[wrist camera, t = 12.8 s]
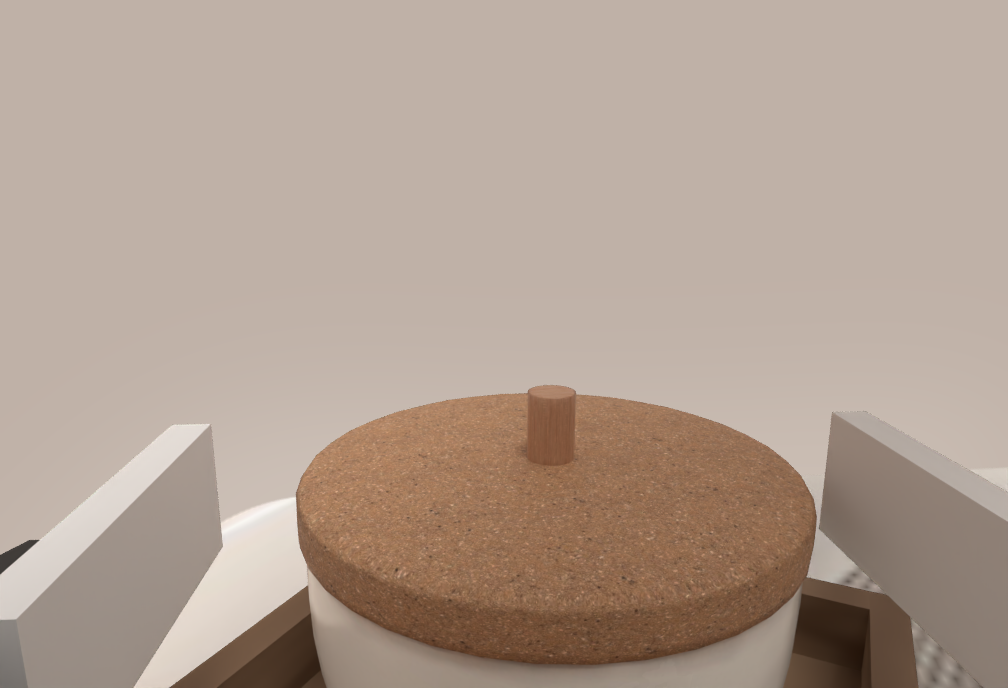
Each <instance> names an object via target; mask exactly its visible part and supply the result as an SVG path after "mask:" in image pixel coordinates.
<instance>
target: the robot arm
mask: <svg viewBox="0 0 1008 688" xmlns="http://www.w3.org/2000/svg"><path fill="white" fill-rule="evenodd" d="M819 529H820V530H821V531H822V532H823V533H824V534H825V535H826V536H827V537H828V538H829V539H830V540H831V541H832V542H833V543H834V544H835V545H836V546H837V547H838V548H840V549H841V550H842V551H843V552H844V553H845V554H846V555H847V556H848V557H849V558H850V559H851V560H852V561H853V562H854V563H855V564H856V565H857V566H858V567H859V568H860V569H861V570H862V571H863V572H864V573H865V574H866V575H867V576H868V577H869V578H871V579H872V580H873V581H874V582H875V583H876V584H877V585H878V586H879V587H880V588H881V589H882V590H883V591H884V592H885V593H886V594H887V595H888V596H889V597H890V598H891V599H892V600H893V601H894V602H895V603H896V604H897V605H898V606H899V607H900V608H901V609H903V610H904V611H905V612H906V613H907V614H908V615H909V616H910V617H911V618H912V619H913V620H914V621H915V622H916V623H917V624H918V625H919V626H920V627H921V628H922V629H923V630H924V631H925V632H926V633H927V634H928V635H929V636H930V637H931V638H932V639H933V640H935V641H936V642H937V643H938V644H939V645H940V646H941V647H942V648H943V649H944V650H945V651H946V652H947V653H948V654H949V655H950V656H951V657H952V658H953V659H954V660H955V661H956V662H957V663H958V664H959V665H960V666H961V667H962V668H963V669H964V670H965V671H967V672H968V673H969V674H970V675H971V676H972V677H973V678H974V679H975V680H976V681H977V682H978V683H979V684H980V685H981V686H982V687H983V688H1008V492H1007V491H1005V490H1003V489H1001V488H1000V487H998V486H996V485H994V484H993V483H991V482H989V481H987V480H986V479H984V478H982V477H980V476H979V475H977V474H975V473H973V472H972V471H970V470H968V469H966V468H964V467H963V466H961V465H959V464H958V463H956V462H954V461H952V460H950V459H949V458H947V457H945V456H944V455H942V454H940V453H938V452H937V451H935V450H933V449H931V448H930V447H928V446H926V445H924V444H922V443H921V442H919V441H917V440H916V439H914V438H912V437H910V436H909V435H907V434H905V433H903V432H902V431H900V430H898V429H896V428H894V427H893V426H891V425H889V424H887V423H886V422H884V421H882V420H880V419H879V418H877V417H875V416H873V415H872V414H870V413H868V412H866V411H863V412H832V418H831V427H830V436H829V445H828V455H827V463H826V472H825V480H824V489H823V498H822V507H821V516H820V525H819ZM222 547H223V544H222V533H221V523H220V513H219V502H218V492H217V482H216V472H215V462H214V451H213V440H212V430H211V424H190V425H189V424H188V425H172V426H171V427H169V428H168V429H167V430H166V431H165V432H164V433H162V434H161V435H160V436H159V437H158V438H157V439H156V440H154V441H153V442H152V443H151V444H150V445H149V446H148V447H146V448H145V449H144V450H143V451H142V452H141V453H140V454H138V455H137V456H136V457H135V458H134V459H133V460H132V461H130V462H129V463H128V464H127V465H126V466H125V467H123V468H122V469H121V470H120V471H119V472H118V473H116V474H115V475H114V476H113V477H112V478H111V479H110V480H108V481H107V482H106V483H105V484H104V485H103V486H102V487H100V488H99V489H98V490H97V491H96V492H95V493H93V494H92V495H91V496H90V497H89V498H88V499H87V500H85V501H84V502H83V503H82V504H81V505H80V506H79V507H77V508H76V509H75V510H74V511H73V512H72V513H70V514H69V515H68V516H67V517H66V518H65V519H64V520H62V521H61V522H60V523H59V524H58V525H57V526H56V527H54V528H53V529H52V530H51V531H50V532H49V533H47V534H46V535H45V536H44V537H43V538H42V539H41V540H29V541H27V542H25V543H23V544H21V545H19V546H17V547H15V548H13V549H11V550H9V551H7V552H5V553H3V554H2V555H0V688H133V687H134V686H135V684H136V682H137V681H138V679H139V678H140V676H141V675H142V673H143V671H144V670H145V668H146V667H147V665H148V664H149V662H150V660H151V659H152V657H153V656H154V654H155V653H156V651H157V649H158V648H159V646H160V645H161V643H162V641H163V640H164V638H165V637H166V635H167V634H168V632H169V630H170V629H171V627H172V626H173V624H174V623H175V621H176V619H177V618H178V616H179V615H180V613H181V612H182V610H183V608H184V607H185V605H186V604H187V602H188V600H189V599H190V597H191V596H192V594H193V593H194V591H195V589H196V588H197V586H198V585H199V583H200V582H201V580H202V578H203V577H204V575H205V574H206V572H207V571H208V569H209V567H210V566H211V564H212V563H213V561H214V559H215V558H216V556H217V555H218V553H219V552H220V550H221V548H222Z"/></svg>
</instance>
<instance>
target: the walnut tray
mask: <svg viewBox="0 0 1008 688" xmlns="http://www.w3.org/2000/svg"><path fill="white" fill-rule="evenodd" d="M170 688H327V687H326V684H325V681H324V678H323V676H322V671H321V667H320V662H319V658H318V654H317V649H316V645H315V640H314V636H313V627H312V619H311V610H310V602H309V590H308V586H306V587H305V588H304V589H302V590H301V591H300V592H298V593H297V594H296V595H294V596H293V597H292V598H290V599H289V600H287V601H286V602H285V603H283V604H282V605H281V606H279V607H278V608H277V609H275V610H274V611H273V612H271V613H270V614H268V615H267V616H266V617H264V618H263V619H262V620H260V621H259V622H258V623H256V624H255V625H254V626H252V627H251V628H250V629H248V630H247V631H245V632H244V633H243V634H241V635H240V636H239V637H237V638H236V639H235V640H233V641H232V642H231V643H229V644H228V645H227V646H225V647H224V648H222V649H221V650H220V651H218V652H217V653H216V654H214V655H213V656H212V657H210V658H209V659H208V660H206V661H205V662H204V663H202V664H201V665H199V666H198V667H197V668H195V669H194V670H193V671H191V672H190V673H189V674H187V675H186V676H185V677H183V678H182V679H181V680H179V681H178V682H176V683H175V684H174V685H172V686H171V687H170ZM783 688H918V681H917V672H916V663H915V655H914V646H913V638H912V629H911V620H910V616H909V615H908V614H907V613H906V612H905V611H904V610H903V609H901V608H900V607H899V606H898V605H897V604H896V603H895V602H894V601H893V600H892V599H891V598H890V597H889V596H888V595H884V594H879V593H875V592H870V591H866V590H861V589H857V588H852V587H848V586H843V585H839V584H834V583H830V582H825V581H821V580H816V579H812V578H807V577H806V578H805V579H804V581H803V584H802V594H801V604H800V610H799V616H798V622H797V629H796V635H795V641H794V646H793V651H792V655H791V660H790V664H789V669H788V672H787V676H786V679H785V683H784V686H783Z"/></svg>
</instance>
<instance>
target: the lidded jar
mask: <svg viewBox="0 0 1008 688" xmlns="http://www.w3.org/2000/svg"><path fill="white" fill-rule="evenodd" d="M296 503H297V525H298V536H299V544H300V549H301V551H302V554H303V556H304V559H305V561H306V564H307V574H308V590H309V602H310V610H311V619H312V627H313V636H314V640H315V645H316V649H317V654H318V658H319V662H320V667H321V671H322V676H323V678H324V681H325V684H326V687H327V688H783V686H784V683H785V679H786V676H787V672H788V669H789V664H790V660H791V655H792V651H793V646H794V641H795V635H796V629H797V622H798V616H799V610H800V604H801V594H802V584H803V581H804V579H805V578H806V576H807V573H808V568H809V564H810V560H811V555H812V551H813V546H814V539H815V531H816V520H817V516H816V510H815V504H814V499H813V497H812V495H811V493H810V492H809V490H808V488H807V486H806V484H805V482H804V481H803V479H802V477H801V475H800V474H799V473H798V472H797V471H796V470H794V468H793V467H792V466H791V465H790V464H789V463H788V462H787V461H786V460H784V459H783V458H782V457H781V456H779V455H778V454H777V453H776V452H774V451H773V450H772V449H770V448H769V447H768V446H766V445H764V444H762V443H760V442H758V441H757V440H755V439H753V438H751V437H749V436H747V435H745V434H743V433H741V432H739V431H736V430H734V429H732V428H730V427H727V426H725V425H723V424H720V423H717V422H714V421H711V420H708V419H705V418H702V417H699V416H696V415H693V414H689V413H685V412H682V411H678V410H675V409H671V408H668V407H663V406H658V405H652V404H647V403H642V402H636V401H630V400H624V399H618V398H610V397H600V396H589V395H576V391H575V390H573V389H571V388H569V387H564V386H557V385H543V386H537V387H533V388H531V389H529V390H528V393H524V394H498V395H488V396H477V397H469V398H461V399H454V400H446V401H442V402H437V403H432V404H428V405H423V406H419V407H415V408H411V409H407V410H403V411H399V412H396V413H393V414H390V415H387V416H384V417H382V418H379V419H376V420H373V421H371V422H369V423H366V424H364V425H362V426H360V427H358V428H355V429H353V430H351V431H349V432H348V433H346V434H344V435H343V436H341V437H340V438H338V439H336V440H335V441H333V442H332V443H331V444H329V445H328V446H327V447H326V448H325V449H324V450H322V451H321V452H320V453H319V454H317V455H316V457H315V458H314V460H313V461H312V463H311V464H310V465H309V467H308V468H307V470H306V471H305V473H304V474H303V476H302V477H301V480H300V483H299V486H298V489H297V492H296Z"/></svg>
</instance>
